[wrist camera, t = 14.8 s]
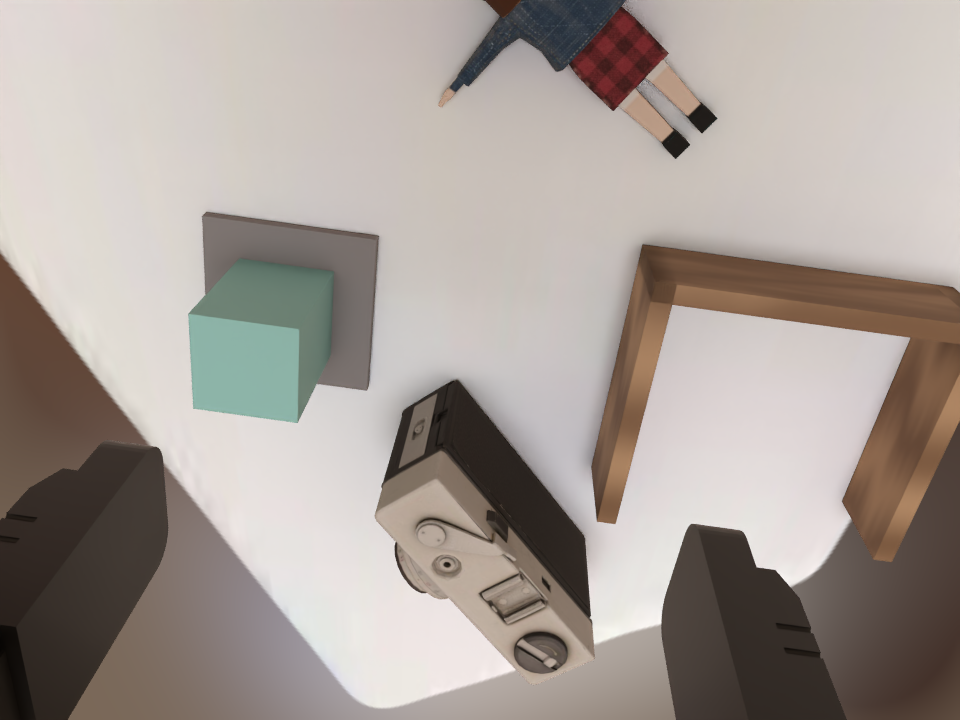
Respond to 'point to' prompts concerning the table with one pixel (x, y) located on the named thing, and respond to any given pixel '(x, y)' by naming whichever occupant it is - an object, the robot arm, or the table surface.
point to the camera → (486, 535)
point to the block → (261, 340)
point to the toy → (593, 57)
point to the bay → (815, 300)
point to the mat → (310, 250)
